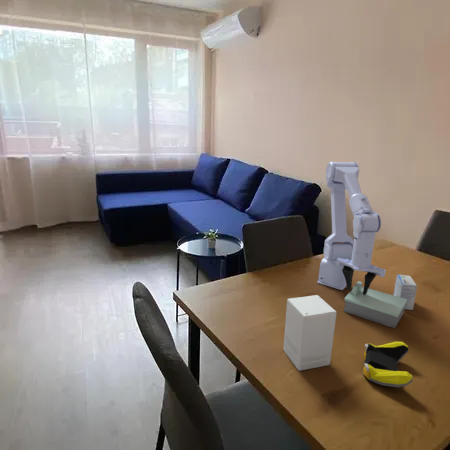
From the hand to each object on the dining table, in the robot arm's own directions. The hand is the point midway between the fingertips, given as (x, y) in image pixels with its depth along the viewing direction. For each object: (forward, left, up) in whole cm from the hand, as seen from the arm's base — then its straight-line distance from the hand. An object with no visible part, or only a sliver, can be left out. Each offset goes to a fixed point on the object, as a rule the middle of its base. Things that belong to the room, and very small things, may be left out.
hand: (356, 291), depth 117 cm
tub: (+6, 0, -5) cm, 8 cm away
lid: (+6, 0, -2) cm, 6 cm away
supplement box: (-1, -34, -6) cm, 34 cm away
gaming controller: (+16, -27, -6) cm, 32 cm away
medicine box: (+12, +12, -6) cm, 18 cm away
